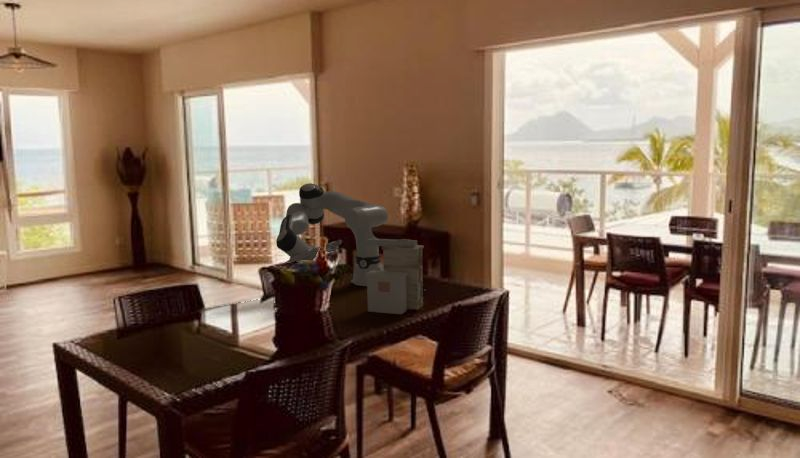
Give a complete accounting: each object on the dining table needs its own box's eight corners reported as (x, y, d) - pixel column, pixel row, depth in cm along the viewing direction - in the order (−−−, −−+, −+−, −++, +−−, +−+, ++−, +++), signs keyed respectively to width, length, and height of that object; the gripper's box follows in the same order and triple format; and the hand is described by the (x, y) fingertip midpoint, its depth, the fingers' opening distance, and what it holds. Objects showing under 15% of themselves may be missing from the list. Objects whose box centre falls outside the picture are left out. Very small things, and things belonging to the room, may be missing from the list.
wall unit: (389, 302, 264) (388, 244, 261) (424, 305, 259) (423, 245, 256) (382, 307, 257) (381, 246, 254) (418, 310, 252) (417, 248, 248)
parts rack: (372, 307, 257) (371, 270, 255) (408, 310, 252) (407, 272, 249) (366, 311, 251) (365, 273, 248) (402, 314, 245) (401, 276, 243)
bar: (366, 245, 259) (366, 238, 258) (369, 244, 262) (369, 237, 261) (415, 247, 251) (414, 240, 251) (417, 246, 254) (417, 239, 254)
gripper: (297, 254, 261) (321, 239, 256) (319, 247, 280) (342, 233, 275) (304, 267, 261) (328, 252, 255) (326, 259, 279) (349, 245, 274)
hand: (336, 242), depth 265 cm, fingers open, 8 cm apart
